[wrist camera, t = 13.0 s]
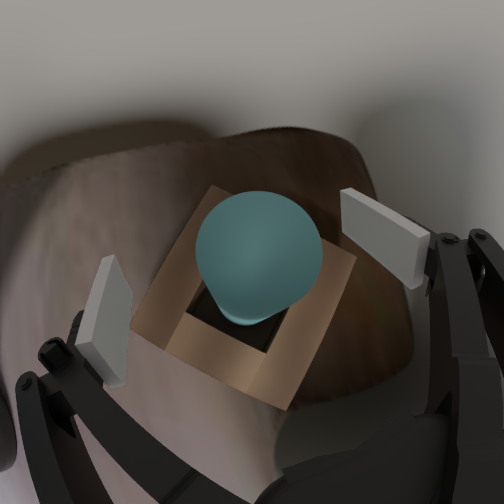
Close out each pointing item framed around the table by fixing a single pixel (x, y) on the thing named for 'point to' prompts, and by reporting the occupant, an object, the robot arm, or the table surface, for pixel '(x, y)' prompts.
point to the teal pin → (258, 255)
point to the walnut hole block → (234, 336)
